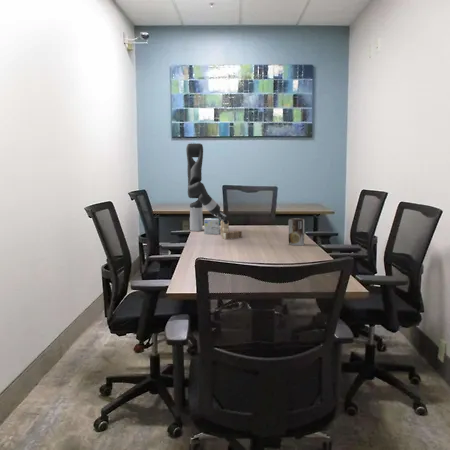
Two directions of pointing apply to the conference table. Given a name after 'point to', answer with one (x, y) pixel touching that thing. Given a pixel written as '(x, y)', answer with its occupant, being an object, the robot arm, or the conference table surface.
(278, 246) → the conference table surface
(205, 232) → the light bulb box
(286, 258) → the conference table surface
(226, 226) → the maple block
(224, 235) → the walnut block
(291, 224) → the coffee box
